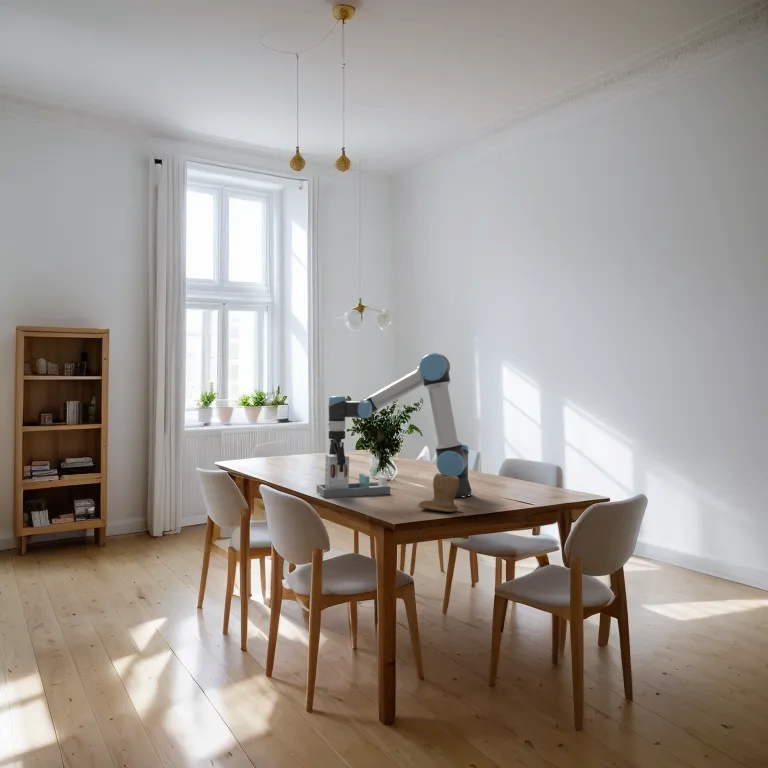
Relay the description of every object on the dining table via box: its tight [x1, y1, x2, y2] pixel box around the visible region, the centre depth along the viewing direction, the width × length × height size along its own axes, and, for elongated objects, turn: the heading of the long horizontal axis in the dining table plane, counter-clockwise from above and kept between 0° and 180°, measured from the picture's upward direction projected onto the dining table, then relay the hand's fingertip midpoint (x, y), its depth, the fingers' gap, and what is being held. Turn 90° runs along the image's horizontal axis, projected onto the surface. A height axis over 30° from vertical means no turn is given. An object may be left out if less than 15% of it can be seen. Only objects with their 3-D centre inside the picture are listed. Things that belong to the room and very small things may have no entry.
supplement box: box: [324, 453, 350, 489], centre depth 308 cm, size 10×9×17 cm
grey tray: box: [316, 481, 391, 498], centre depth 311 cm, size 14×31×4 cm, turn 109°
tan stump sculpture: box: [417, 472, 460, 513], centre depth 275 cm, size 15×12×15 cm
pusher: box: [358, 472, 388, 488], centre depth 314 cm, size 11×11×7 cm
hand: (336, 477), depth 308 cm, fingers open, 13 cm apart
